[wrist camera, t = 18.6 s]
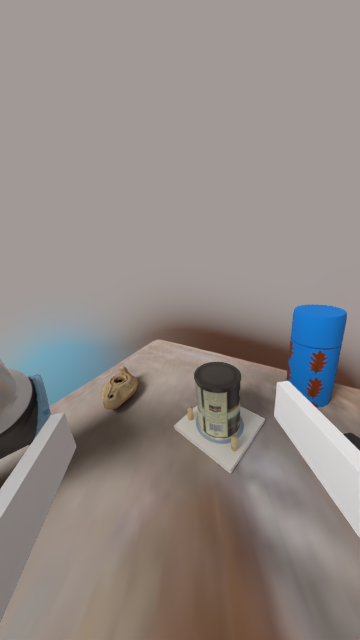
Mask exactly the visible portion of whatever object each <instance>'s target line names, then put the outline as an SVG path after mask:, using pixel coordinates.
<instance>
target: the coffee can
mask: <svg viewBox="0 0 360 640" xmlns="http://www.w3.org/2000/svg"><path fill="white" fill-rule="evenodd" d="M194 379H195V385H196V396H197V408H198V423H199V427H200V429H201V431H202V432H203V433H204V434H205V435H206V436H207V437H209V438H211V439H214V440H219V441H224V440H229V439H231V436H232V435H237V434H238V432H239V430H240V381H241V374H240V371H239V370H238V369H237V368H236V367H234V366H233V365H230V364H227V363H223V362H210V363H206V364H203V365H201V366H200V367H198V368H197V369H196V371H195V373H194Z"/></svg>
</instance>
